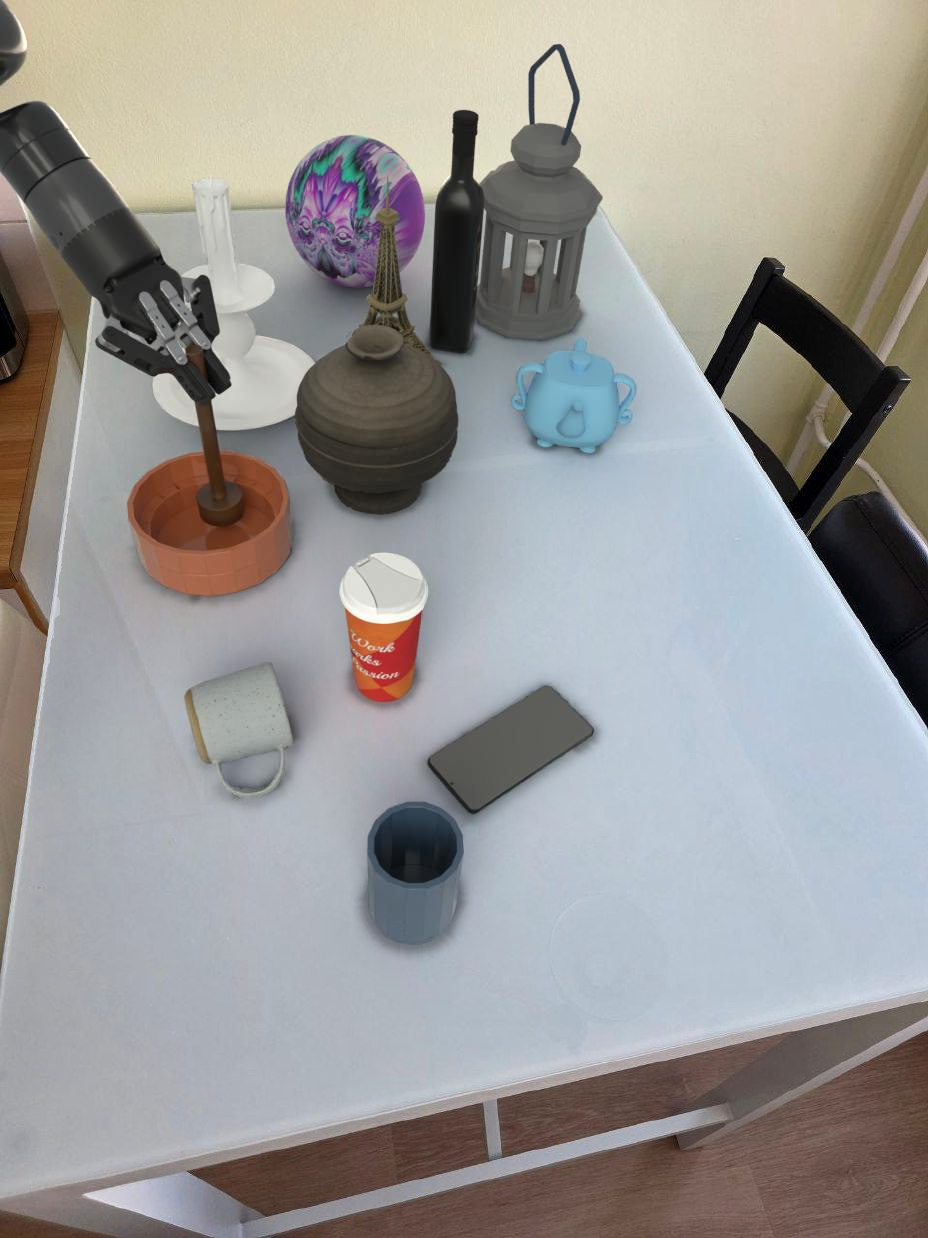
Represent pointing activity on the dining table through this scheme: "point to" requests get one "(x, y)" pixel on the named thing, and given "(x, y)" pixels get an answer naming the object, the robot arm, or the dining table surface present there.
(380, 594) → the paper cup
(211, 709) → the ceramic mug
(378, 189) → the decorative sphere
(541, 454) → the dining table surface
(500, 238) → the lantern
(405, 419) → the pot
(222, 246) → the candlestick
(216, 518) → the brown wooden plunger
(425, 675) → the dining table surface
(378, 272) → the eiffel tower
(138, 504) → the mixing bowl
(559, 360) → the blue sugar bowl
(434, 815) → the crock
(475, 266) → the wine bottle
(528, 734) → the smartphone
